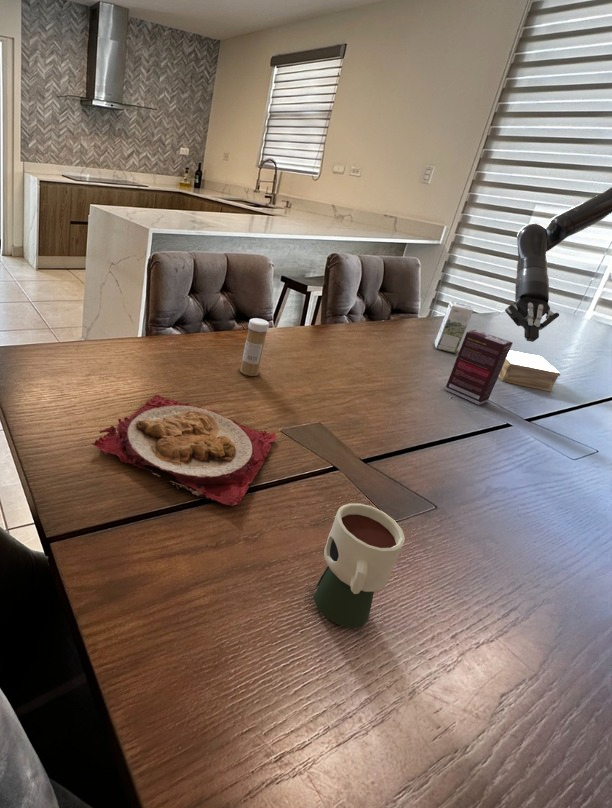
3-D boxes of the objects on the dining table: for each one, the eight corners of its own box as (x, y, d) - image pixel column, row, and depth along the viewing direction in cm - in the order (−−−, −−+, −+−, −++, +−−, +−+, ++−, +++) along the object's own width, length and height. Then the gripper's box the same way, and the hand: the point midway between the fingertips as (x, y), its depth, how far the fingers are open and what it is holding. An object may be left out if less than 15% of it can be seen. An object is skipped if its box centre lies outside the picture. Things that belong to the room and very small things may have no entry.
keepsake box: (550, 391, 125) (558, 375, 123) (502, 381, 128) (509, 365, 126) (533, 374, 135) (540, 359, 134) (488, 364, 138) (494, 350, 136)
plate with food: (235, 516, 69) (240, 498, 67) (90, 450, 78) (92, 432, 77) (275, 441, 89) (279, 426, 87) (156, 395, 98) (158, 381, 97)
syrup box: (453, 348, 148) (470, 304, 143) (456, 354, 143) (473, 309, 138) (433, 343, 150) (450, 300, 145) (435, 349, 145) (452, 304, 140)
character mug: (315, 562, 62) (341, 484, 57) (372, 587, 60) (404, 507, 55) (301, 631, 53) (330, 545, 48) (367, 663, 50) (406, 575, 45)
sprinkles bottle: (260, 372, 115) (272, 321, 110) (254, 378, 111) (265, 326, 106) (243, 366, 117) (253, 316, 112) (236, 372, 113) (246, 320, 108)
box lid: (559, 376, 123) (560, 373, 122) (509, 366, 125) (511, 363, 125) (540, 358, 134) (541, 356, 133) (494, 349, 136) (495, 347, 136)
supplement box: (488, 401, 115) (514, 342, 108) (479, 406, 112) (505, 345, 106) (452, 386, 121) (475, 328, 115) (443, 389, 118) (466, 331, 112)
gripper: (549, 297, 137) (550, 350, 131) (499, 289, 140) (497, 340, 134) (566, 284, 130) (568, 339, 124) (513, 275, 133) (512, 329, 127)
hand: (531, 340), depth 129 cm, fingers closed
